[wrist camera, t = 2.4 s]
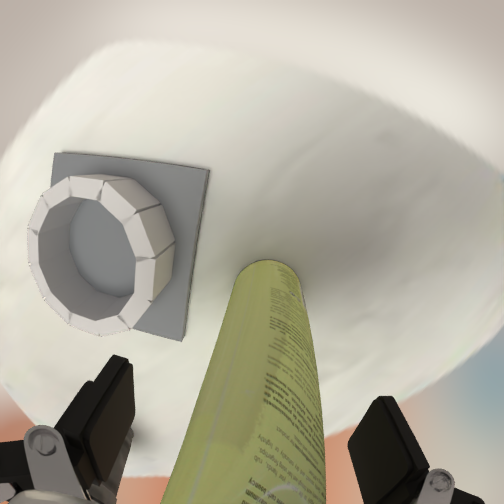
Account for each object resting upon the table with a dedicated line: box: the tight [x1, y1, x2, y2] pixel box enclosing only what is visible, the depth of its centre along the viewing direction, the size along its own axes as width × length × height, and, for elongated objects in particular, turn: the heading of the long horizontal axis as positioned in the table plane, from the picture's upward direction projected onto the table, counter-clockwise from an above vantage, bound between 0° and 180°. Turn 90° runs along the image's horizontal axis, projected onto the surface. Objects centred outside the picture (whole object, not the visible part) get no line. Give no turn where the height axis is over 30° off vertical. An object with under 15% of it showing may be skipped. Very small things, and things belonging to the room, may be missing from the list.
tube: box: [160, 260, 326, 504], centre depth 12 cm, size 6×5×20 cm
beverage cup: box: [87, 428, 133, 504], centre depth 17 cm, size 7×7×20 cm
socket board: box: [27, 153, 210, 342], centre depth 18 cm, size 13×13×5 cm
